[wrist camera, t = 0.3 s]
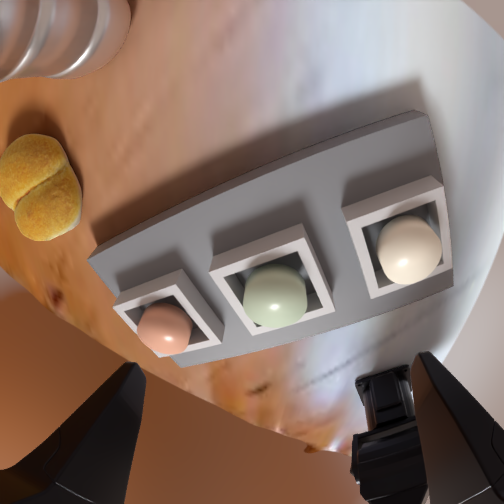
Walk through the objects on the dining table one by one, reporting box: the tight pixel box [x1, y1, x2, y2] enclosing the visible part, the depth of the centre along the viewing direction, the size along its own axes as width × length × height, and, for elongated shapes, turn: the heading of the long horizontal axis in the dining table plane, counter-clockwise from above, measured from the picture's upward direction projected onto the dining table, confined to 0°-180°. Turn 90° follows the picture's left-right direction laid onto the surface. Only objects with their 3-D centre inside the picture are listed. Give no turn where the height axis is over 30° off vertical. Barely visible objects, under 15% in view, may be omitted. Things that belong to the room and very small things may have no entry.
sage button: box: [243, 264, 307, 328], centre depth 20 cm, size 4×4×2 cm
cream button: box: [375, 215, 442, 284], centre depth 17 cm, size 4×4×2 cm
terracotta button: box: [137, 303, 193, 354], centre depth 23 cm, size 4×4×2 cm
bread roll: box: [0, 134, 82, 241], centre depth 19 cm, size 8×9×4 cm
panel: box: [87, 110, 453, 368], centre depth 22 cm, size 14×26×4 cm, turn 116°
